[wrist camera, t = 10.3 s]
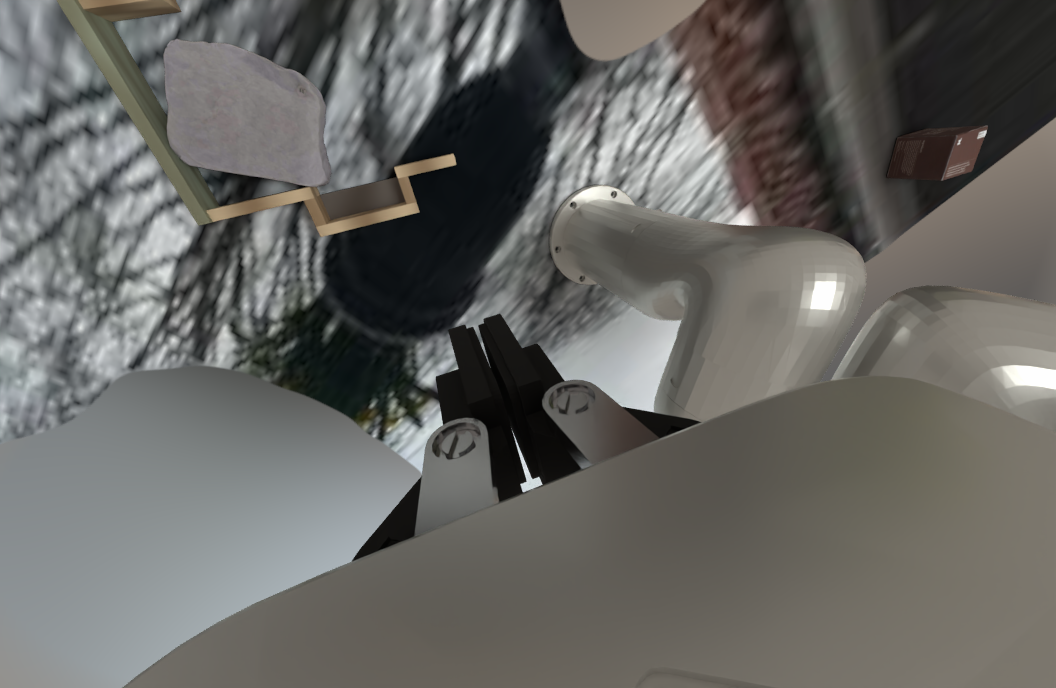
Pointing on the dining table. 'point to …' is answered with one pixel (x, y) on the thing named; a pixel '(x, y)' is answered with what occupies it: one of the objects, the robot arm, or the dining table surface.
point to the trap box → (91, 13)
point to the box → (936, 153)
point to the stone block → (244, 114)
